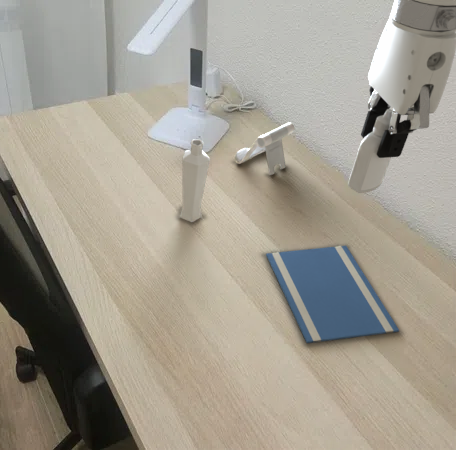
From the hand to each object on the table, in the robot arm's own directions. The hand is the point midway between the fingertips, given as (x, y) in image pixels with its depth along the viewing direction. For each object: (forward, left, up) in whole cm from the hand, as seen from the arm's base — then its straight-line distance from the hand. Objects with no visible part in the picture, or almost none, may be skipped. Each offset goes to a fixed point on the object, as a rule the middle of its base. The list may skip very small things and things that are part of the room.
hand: (380, 145), depth 75 cm
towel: (+4, +6, -22) cm, 24 cm away
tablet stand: (+4, -29, -23) cm, 37 cm away
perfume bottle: (+22, -15, -23) cm, 35 cm away
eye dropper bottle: (0, 0, -7) cm, 7 cm away
